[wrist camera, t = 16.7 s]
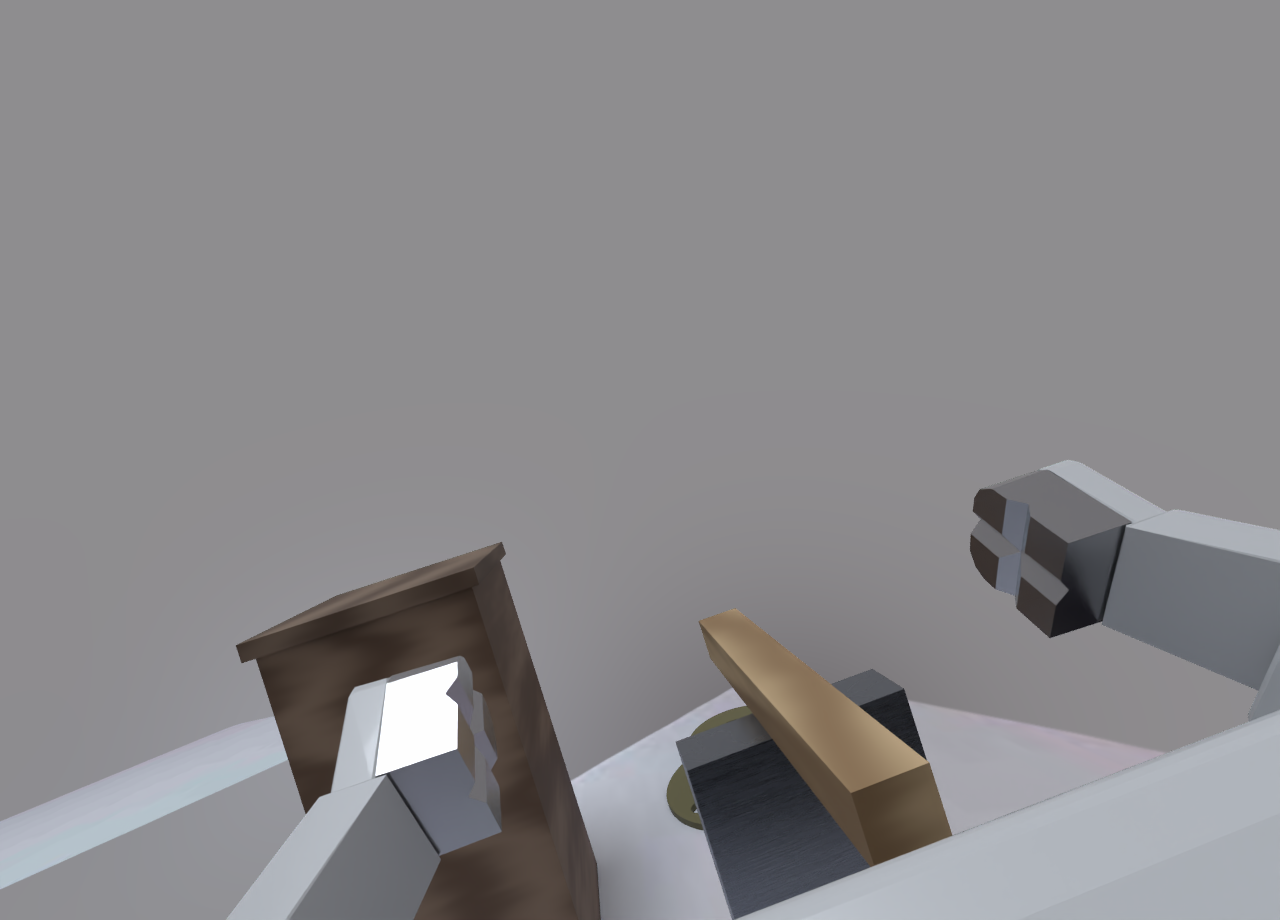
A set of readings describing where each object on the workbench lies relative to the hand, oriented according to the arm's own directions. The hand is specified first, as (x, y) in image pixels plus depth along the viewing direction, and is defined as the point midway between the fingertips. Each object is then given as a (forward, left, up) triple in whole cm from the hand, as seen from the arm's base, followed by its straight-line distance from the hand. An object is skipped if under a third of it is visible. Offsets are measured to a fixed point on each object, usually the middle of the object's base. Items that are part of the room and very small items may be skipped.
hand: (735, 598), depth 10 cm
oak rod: (+4, +19, -11) cm, 22 cm away
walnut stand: (-15, +35, -27) cm, 46 cm away
